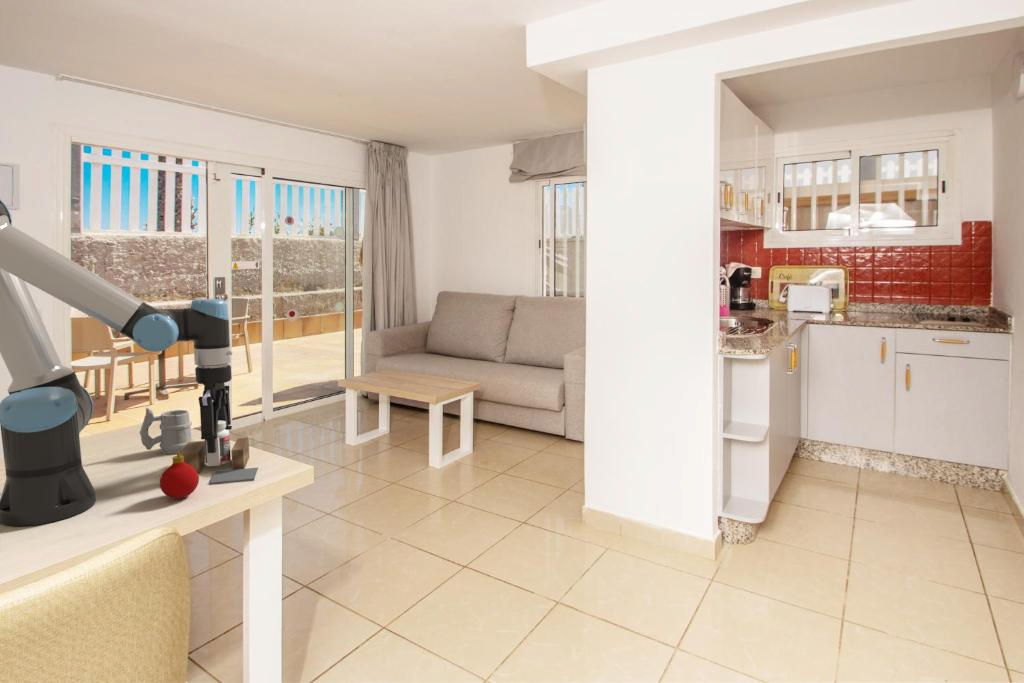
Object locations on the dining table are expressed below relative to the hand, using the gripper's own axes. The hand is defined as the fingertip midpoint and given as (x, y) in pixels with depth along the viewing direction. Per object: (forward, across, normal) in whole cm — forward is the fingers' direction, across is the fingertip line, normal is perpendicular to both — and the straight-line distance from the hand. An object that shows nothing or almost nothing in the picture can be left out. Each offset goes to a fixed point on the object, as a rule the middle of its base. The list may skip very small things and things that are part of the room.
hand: (218, 460), depth 142 cm
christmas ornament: (+2, -19, +1) cm, 19 cm away
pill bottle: (+1, 0, 0) cm, 1 cm away
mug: (+2, +14, +17) cm, 22 cm away
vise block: (+1, +1, 0) cm, 2 cm away
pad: (+1, -8, -6) cm, 10 cm away
